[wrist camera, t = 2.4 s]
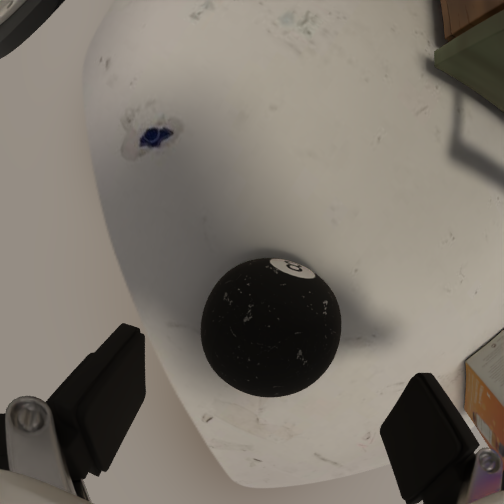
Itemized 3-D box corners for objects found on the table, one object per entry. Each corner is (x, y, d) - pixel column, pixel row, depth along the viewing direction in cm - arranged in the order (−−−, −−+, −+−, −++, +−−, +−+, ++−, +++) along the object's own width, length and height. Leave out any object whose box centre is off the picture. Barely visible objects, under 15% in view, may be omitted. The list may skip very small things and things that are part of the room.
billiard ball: (341, 263, 14) (385, 316, 8) (302, 355, 16) (315, 431, 10) (230, 229, 14) (206, 266, 8) (203, 329, 16) (175, 401, 10)
